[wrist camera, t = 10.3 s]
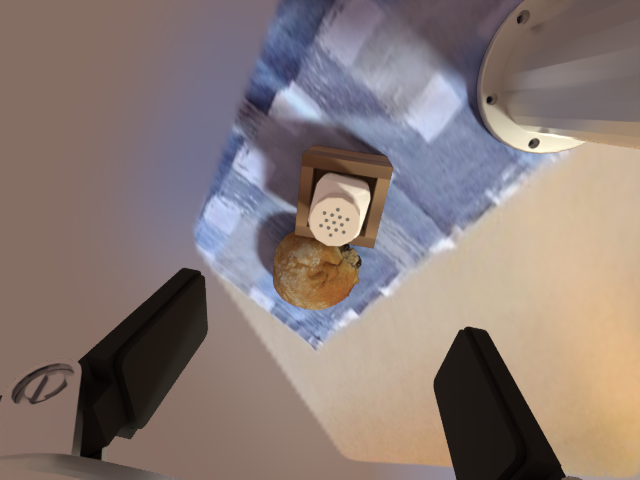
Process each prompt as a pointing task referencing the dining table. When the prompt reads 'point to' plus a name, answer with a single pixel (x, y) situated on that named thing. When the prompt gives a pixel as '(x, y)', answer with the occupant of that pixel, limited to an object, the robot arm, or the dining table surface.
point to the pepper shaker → (338, 208)
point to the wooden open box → (348, 163)
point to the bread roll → (314, 272)
